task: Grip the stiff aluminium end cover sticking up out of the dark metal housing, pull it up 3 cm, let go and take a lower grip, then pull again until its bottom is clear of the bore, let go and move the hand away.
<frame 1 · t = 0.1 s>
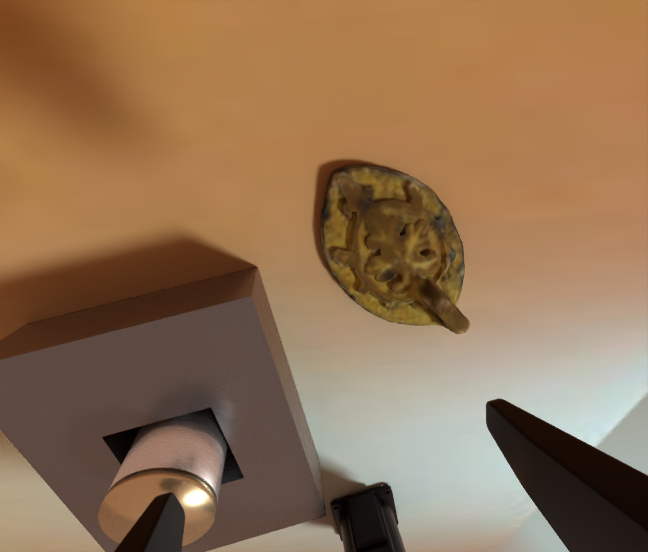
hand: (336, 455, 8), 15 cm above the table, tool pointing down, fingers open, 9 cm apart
end cover: (180, 450, 20), point 4 cm above the table, slide at 0.0 cm
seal: (392, 250, 23), on the table
housing: (197, 402, 25), on the table
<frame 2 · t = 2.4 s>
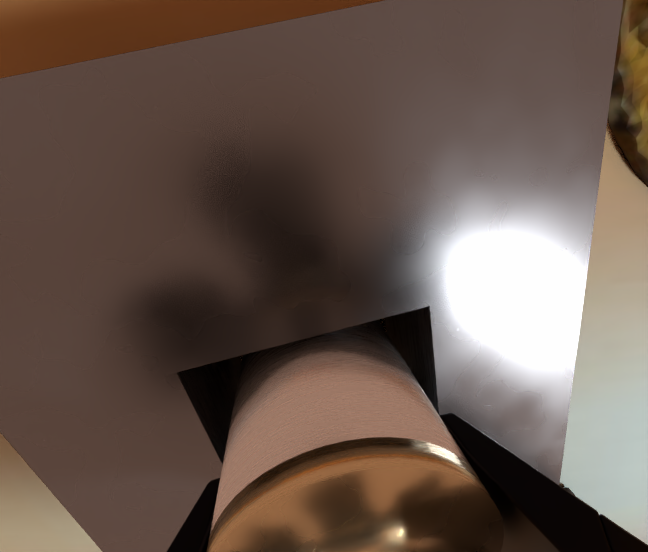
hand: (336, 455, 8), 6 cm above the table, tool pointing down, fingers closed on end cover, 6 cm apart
end cover: (328, 415, 10), point 4 cm above the table, slide at 0.0 cm, touching gripper
housing: (313, 340, 14), on the table
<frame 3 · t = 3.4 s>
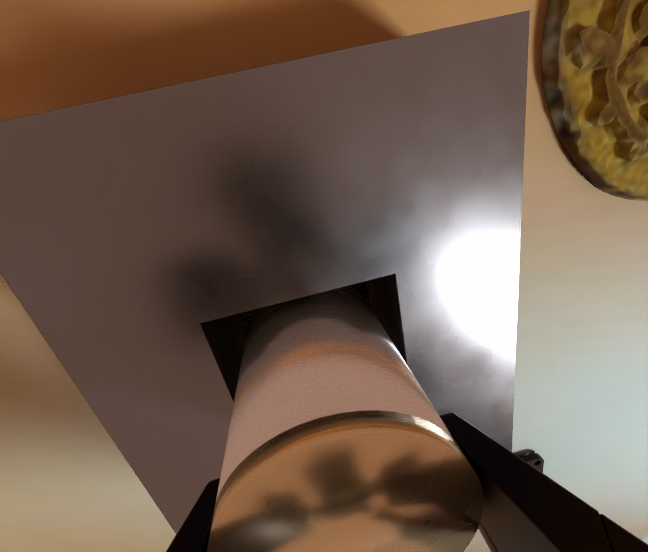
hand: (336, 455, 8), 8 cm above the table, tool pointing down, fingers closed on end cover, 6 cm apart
end cover: (325, 400, 10), point 6 cm above the table, slide at 1.9 cm, touching gripper
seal: (630, 69, 15), on the table
housing: (308, 314, 16), on the table
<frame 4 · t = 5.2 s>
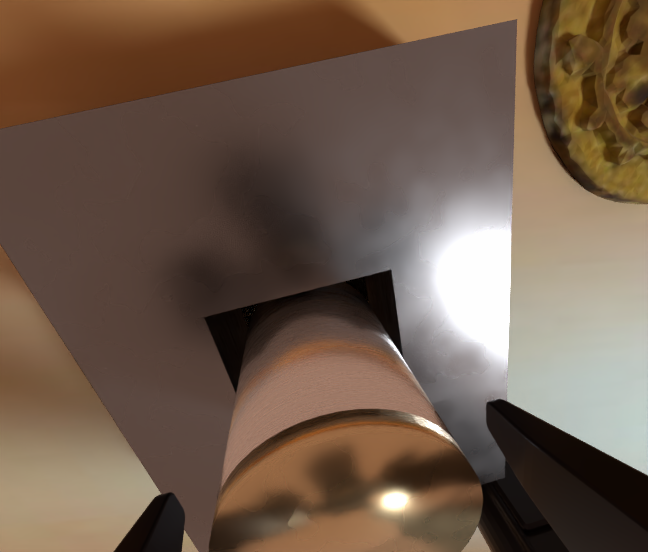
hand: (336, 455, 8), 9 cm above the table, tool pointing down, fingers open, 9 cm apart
end cover: (325, 399, 10), point 7 cm above the table, slide at 2.3 cm
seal: (620, 76, 15), on the table
housing: (308, 310, 17), on the table
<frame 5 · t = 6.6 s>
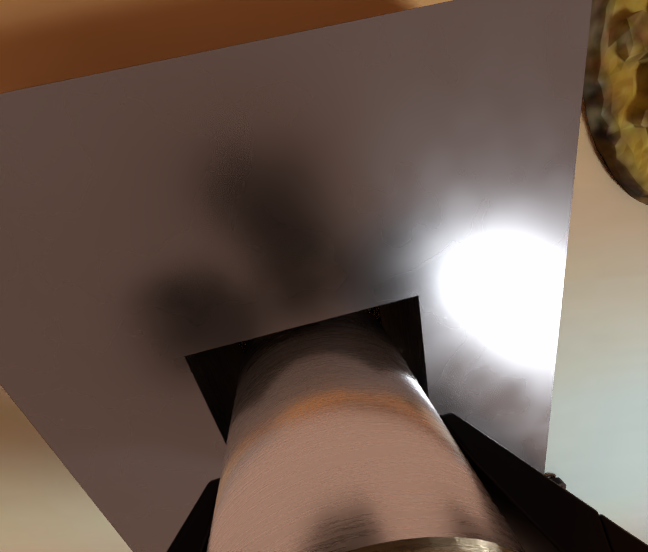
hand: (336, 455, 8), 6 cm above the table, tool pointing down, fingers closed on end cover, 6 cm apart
end cover: (337, 460, 8), point 7 cm above the table, slide at 2.3 cm, touching gripper
housing: (312, 332, 14), on the table
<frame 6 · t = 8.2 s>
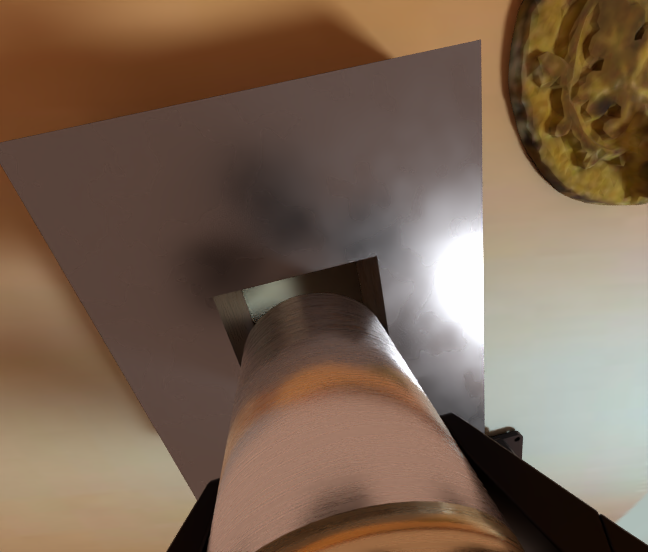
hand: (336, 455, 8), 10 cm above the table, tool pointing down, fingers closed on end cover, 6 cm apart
end cover: (334, 445, 9), point 10 cm above the table, slide at 5.7 cm, touching gripper
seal: (587, 89, 17), on the table
housing: (305, 297, 18), on the table
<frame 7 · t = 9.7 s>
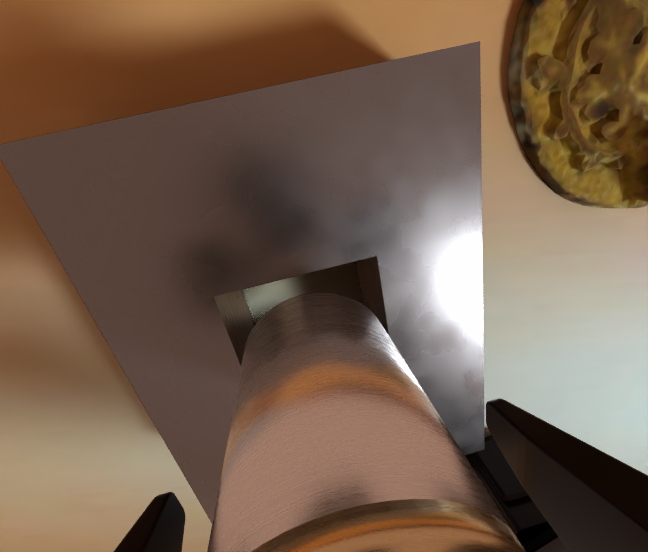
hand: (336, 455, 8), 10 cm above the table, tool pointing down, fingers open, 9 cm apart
end cover: (334, 444, 9), point 10 cm above the table, slide at 5.8 cm
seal: (586, 92, 17), on the table
housing: (305, 297, 18), on the table
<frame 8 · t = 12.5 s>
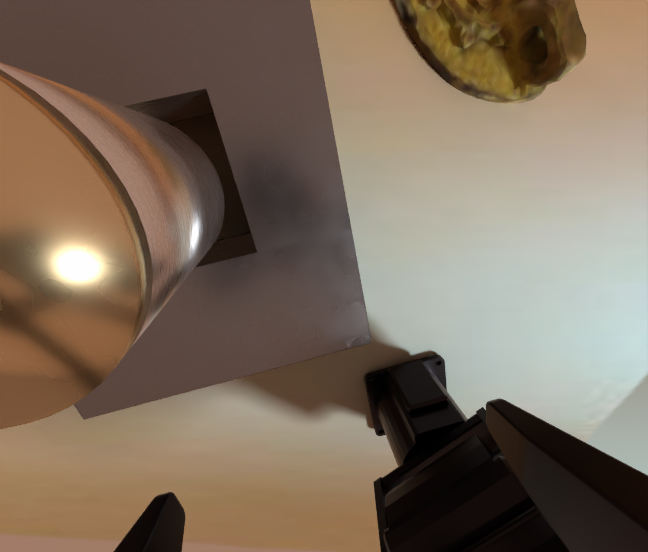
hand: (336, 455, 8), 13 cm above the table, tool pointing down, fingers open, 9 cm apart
end cover: (81, 217, 8), point 10 cm above the table, slide at 5.8 cm
housing: (188, 187, 17), on the table
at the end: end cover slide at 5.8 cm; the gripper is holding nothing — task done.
